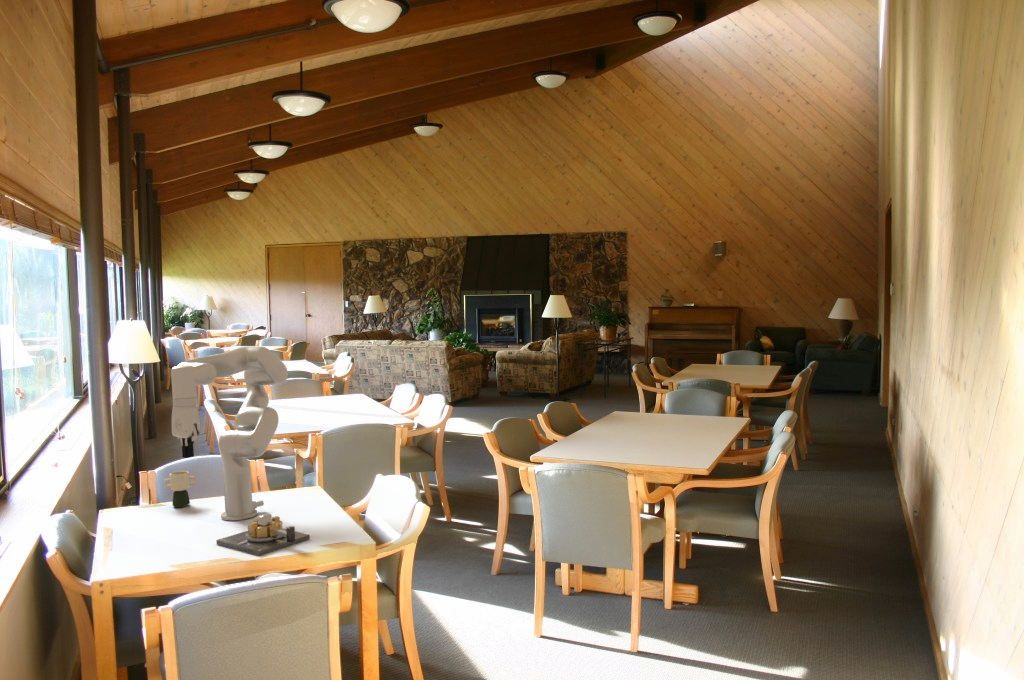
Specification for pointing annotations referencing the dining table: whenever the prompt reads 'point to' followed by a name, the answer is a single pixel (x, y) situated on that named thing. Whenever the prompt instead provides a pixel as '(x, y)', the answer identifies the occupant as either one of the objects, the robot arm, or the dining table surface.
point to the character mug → (180, 487)
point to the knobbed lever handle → (271, 529)
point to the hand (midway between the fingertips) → (188, 457)
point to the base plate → (260, 540)
